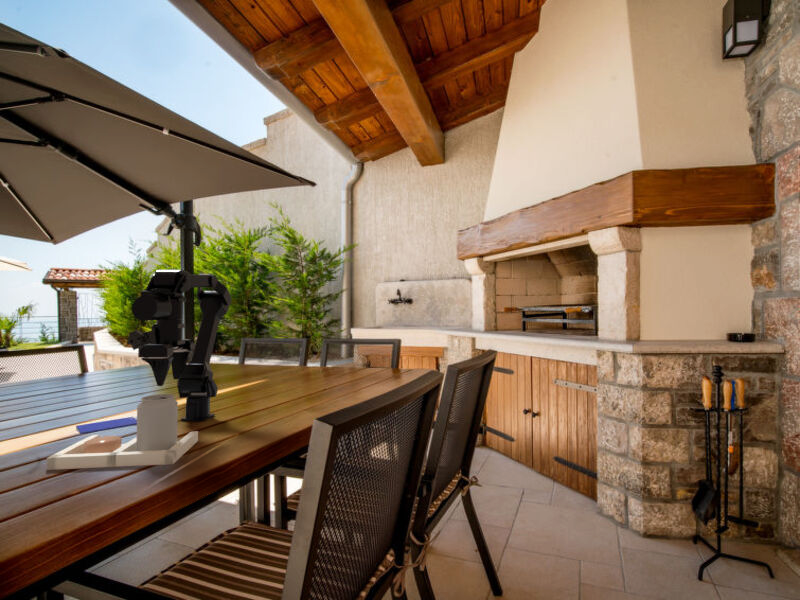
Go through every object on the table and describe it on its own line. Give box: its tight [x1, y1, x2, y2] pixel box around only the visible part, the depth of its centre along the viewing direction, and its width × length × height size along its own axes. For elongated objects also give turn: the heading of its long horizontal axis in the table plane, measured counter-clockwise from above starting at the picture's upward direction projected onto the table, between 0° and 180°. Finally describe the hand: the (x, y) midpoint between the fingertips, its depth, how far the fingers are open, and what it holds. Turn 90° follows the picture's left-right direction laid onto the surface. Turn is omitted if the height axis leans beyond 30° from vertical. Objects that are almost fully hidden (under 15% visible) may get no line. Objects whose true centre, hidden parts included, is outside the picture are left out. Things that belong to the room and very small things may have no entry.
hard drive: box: [75, 416, 137, 435], centre depth 106 cm, size 2×8×12 cm
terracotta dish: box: [84, 435, 123, 454], centre depth 85 cm, size 6×6×3 cm
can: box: [136, 393, 179, 451], centre depth 86 cm, size 8×8×12 cm
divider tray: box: [46, 430, 199, 471], centre depth 85 cm, size 14×23×3 cm, turn 98°
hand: (168, 382), depth 100 cm, fingers open, 9 cm apart
